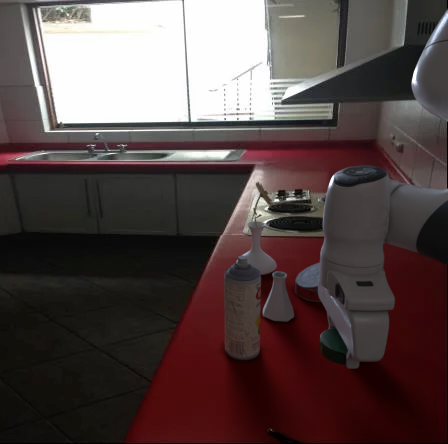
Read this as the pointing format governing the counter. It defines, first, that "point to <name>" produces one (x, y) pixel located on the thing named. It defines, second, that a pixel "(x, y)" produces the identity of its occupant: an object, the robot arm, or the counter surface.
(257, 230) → the flower in vase
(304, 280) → the canned food
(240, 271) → the aerosol can
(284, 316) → the flask
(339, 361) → the lid
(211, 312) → the counter surface
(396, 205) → the robot arm
